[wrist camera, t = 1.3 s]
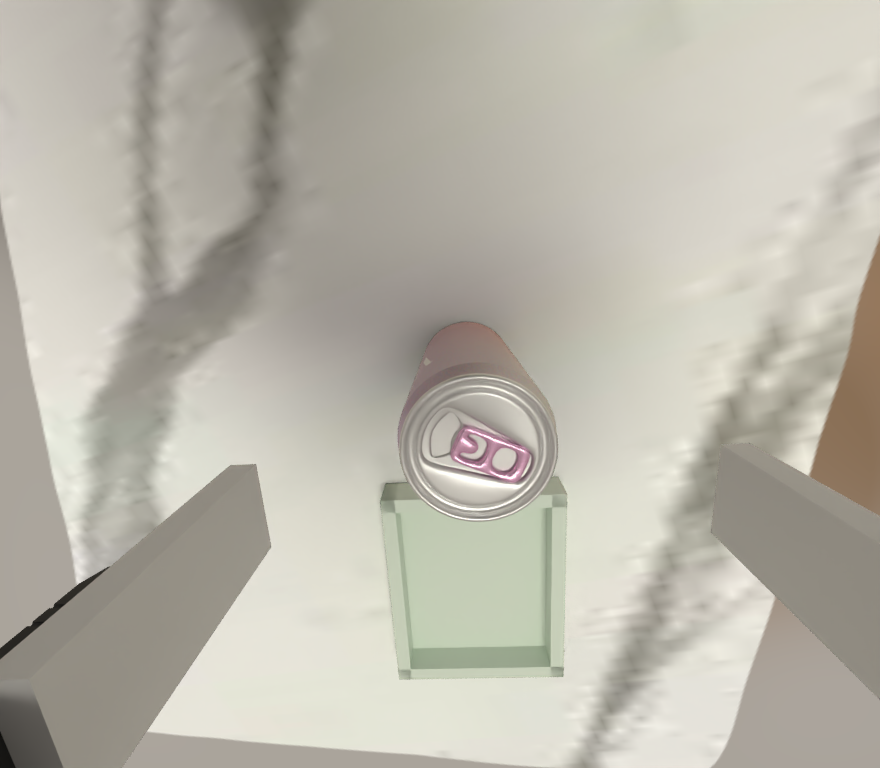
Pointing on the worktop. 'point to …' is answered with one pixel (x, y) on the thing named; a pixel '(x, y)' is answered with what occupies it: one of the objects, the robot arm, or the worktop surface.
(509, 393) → the beverage can
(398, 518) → the tray
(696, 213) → the worktop surface
